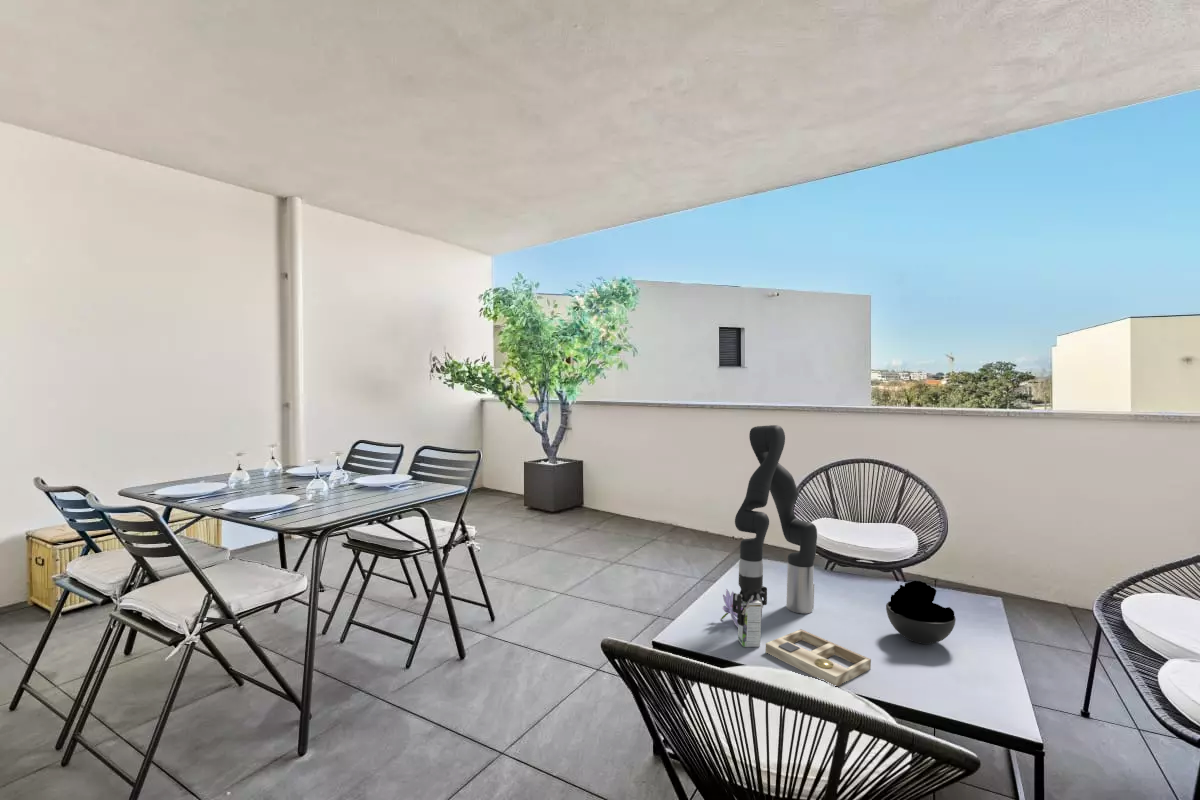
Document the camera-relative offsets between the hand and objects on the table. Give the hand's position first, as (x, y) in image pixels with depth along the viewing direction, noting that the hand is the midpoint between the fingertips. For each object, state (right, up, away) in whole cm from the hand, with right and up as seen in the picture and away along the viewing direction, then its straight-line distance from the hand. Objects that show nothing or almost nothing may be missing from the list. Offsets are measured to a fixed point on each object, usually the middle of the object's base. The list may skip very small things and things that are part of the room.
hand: (749, 621), depth 182 cm
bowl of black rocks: (+57, -8, +4) cm, 58 cm away
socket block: (+18, -8, -10) cm, 22 cm away
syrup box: (0, -7, 0) cm, 7 cm away
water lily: (-1, -7, +16) cm, 17 cm away
